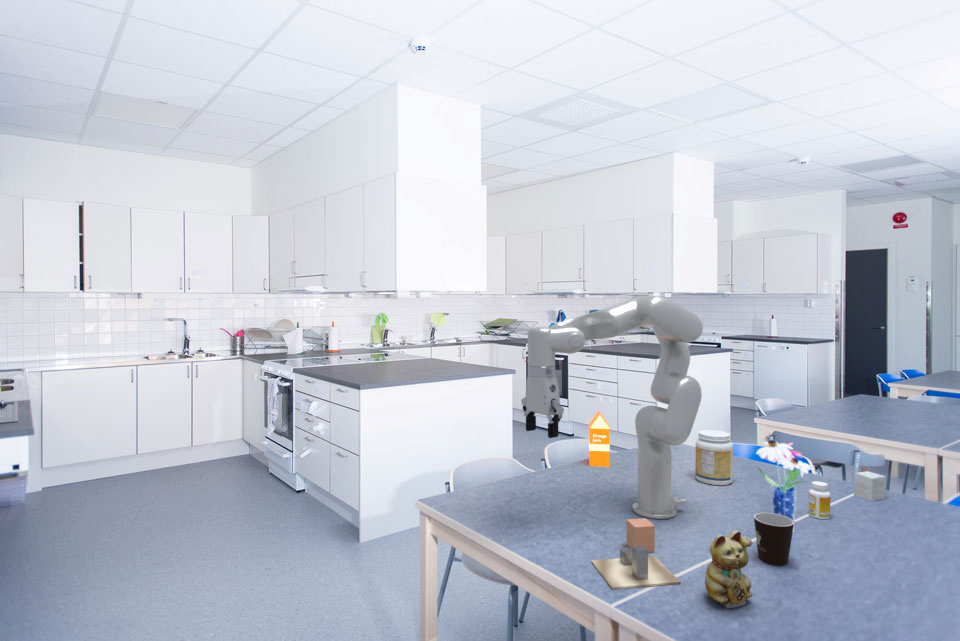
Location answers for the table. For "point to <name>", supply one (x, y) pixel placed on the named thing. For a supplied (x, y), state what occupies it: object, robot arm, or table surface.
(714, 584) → the decorative figurine
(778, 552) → the coffee mug
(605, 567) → the board
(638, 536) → the salmon pink toy brick
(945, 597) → the table surface
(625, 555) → the silver gray cube
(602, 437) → the orange juice
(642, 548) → the post
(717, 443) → the supplement tub
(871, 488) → the pale grey block
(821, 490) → the supplement bottle
